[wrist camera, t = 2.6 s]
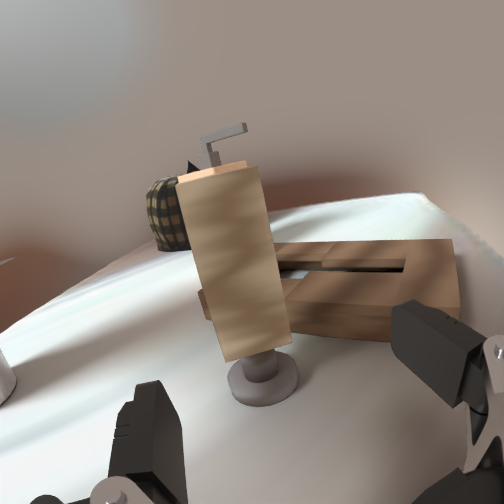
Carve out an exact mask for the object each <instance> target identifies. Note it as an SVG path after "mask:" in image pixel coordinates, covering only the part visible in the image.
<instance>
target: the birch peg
mask: <svg viewBox="0 0 504 504" xmlns="http://www.w3.org/2000/svg"><path fill="white" fill-rule="evenodd" d="M175 187H176V191H177V195H178V199H179V203H180V207H181V211H182V215H183V219H184V223H185V227H186V231H187V234H188V238H189V242H190V246H191V249H192V253H193V256H194V260H195V264H196V267H197V271H198V274H199V278H200V281H201V285H202V288H203V291H204V295H205V298H206V301H207V305H208V308H209V311H210V315H211V318H212V321H213V324H214V327H215V331H216V334H217V337H218V340H219V343H220V346H221V349H222V352H223V355H224V358H225V361H226V362H230V361H233V360H237V359H240V360H239V361H238V362H236V363H235V364H234V365H233V366H232V368H231V369H230V371H229V373H228V383H229V386H230V388H231V391H232V394H233V396H234V398H235V399H236V400H237V401H239V402H240V403H242V404H245V405H248V406H254V407H262V406H269V405H273V404H276V403H278V402H280V401H282V400H284V399H286V398H287V397H288V396H290V395H291V394H292V393H293V391H294V390H295V388H296V387H297V384H298V374H297V368H296V364H295V361H294V360H293V359H292V358H291V357H290V356H289V355H287V354H285V353H282V352H277V351H275V350H274V348H277V347H280V346H283V345H286V344H289V343H292V337H291V332H290V327H289V321H288V316H287V310H286V305H285V300H284V295H283V289H282V284H281V279H280V274H279V269H278V264H277V259H276V254H275V249H274V244H273V239H272V234H271V229H270V224H269V219H268V214H267V209H266V205H265V200H264V195H263V190H262V186H261V181H260V176H259V172H258V167H257V166H252V167H245V168H239V169H235V170H230V171H226V172H222V173H217V174H213V175H209V176H205V177H201V178H197V179H193V180H189V181H185V182H181V183H178V184H176V185H175Z"/></svg>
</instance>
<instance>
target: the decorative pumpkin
mask: <svg viewBox="0 0 504 504" xmlns="http://www.w3.org/2000/svg"><path fill="white" fill-rule="evenodd" d="M197 171H201V170H199V169H198V168H197V167H196V166H194V165H193V164H191V163H190V162H189V161H188V170H187V174H189V173H193V172H197ZM178 176H182V175H174V176H169V177H165V178H163V179H161V180H159V181H157V182H156V183H155V184H154V185H153V186H151V187H150V189H149V190H148V193H147V195H146V207H147V212H148V218H149V223H150V226H151V228H152V231H153V234H154V237H155V239H156V241H157V244H158V250H159V251H164V252H176V251H186V250H192V249H191V246H190V242H189V238H188V234H187V231H186V227H185V223H184V219H183V215H182V211H181V207H180V203H179V199H178V195H177V191H176V187H175V185H176V184H178V183H179V181H178Z"/></svg>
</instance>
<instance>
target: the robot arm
mask: <svg viewBox="0 0 504 504" xmlns="http://www.w3.org/2000/svg"><path fill="white" fill-rule="evenodd" d="M391 347H392V350H393V352H394V354H395V356H396V357H397V358H398V359H399V360H400V361H401V362H402V363H403V364H405V365H406V366H407V367H408V368H409V369H410V370H411V371H412V372H413V373H415V374H416V375H417V376H418V377H419V378H420V379H421V380H422V381H423V382H424V383H426V384H427V385H428V386H429V387H430V388H431V389H432V390H433V391H434V392H435V393H436V394H438V395H439V396H440V397H441V398H442V399H443V400H444V401H445V402H446V403H447V404H448V405H450V406H451V407H452V408H454V407H455V406H457V405H458V404H460V403H461V402H462V401H465V402H466V403H467V404H466V408H465V415H466V429H467V458H466V462H465V465H464V469H463V472H462V471H461V470H460V469H459V468H457V469H455V470H454V471H452V472H451V473H450V474H448V475H447V476H446V477H444V478H443V479H441V480H440V481H438V482H437V483H435V484H434V485H432V486H431V487H429V488H428V489H426V490H425V491H424V492H423V493H422V494H421V495H420V496H419V497H418V498H417V499H416V500H415V501H414V502H413V503H412V504H504V335H495V336H492V337H490V338H488V339H487V338H486V337H484V336H483V335H481V334H479V333H478V332H476V331H475V330H473V329H471V328H470V327H468V326H466V325H465V324H463V323H462V322H458V320H457V319H455V318H453V317H450V315H448V314H447V313H445V312H443V311H442V310H440V309H436V308H432V307H429V306H425V305H423V304H421V303H420V302H418V301H416V300H415V299H409V300H407V301H404V302H402V303H400V304H398V305H395V306H394V307H393V308H392V311H391ZM16 381H17V380H16V376H15V374H14V373H13V371H12V369H11V368H10V366H9V364H8V362H7V360H6V359H5V357H4V355H3V353H2V351H1V349H0V404H1V403H2V402H4V401H5V400H6V399H7V398H8V396H9V395H10V394H11V393H12V391H13V389H14V387H15V385H16ZM114 438H115V439H113V445H112V451H111V458H110V464H109V472H108V478H106V479H104V480H102V481H101V482H99V483H98V484H97V485H96V486H95V487H94V489H93V490H92V492H91V496H90V497H89V498H87V499H83V500H79V501H76V502H72V503H68V504H188V498H187V488H186V477H185V466H184V453H183V438H182V427H181V422H180V419H179V416H178V414H177V412H176V410H175V408H174V406H173V404H172V402H171V400H170V398H169V396H168V394H167V392H166V390H165V388H164V386H163V385H162V383H161V382H160V381H159V380H157V381H152V382H147V383H142V384H137V385H136V388H135V394H134V400H133V401H130V402H126V403H125V404H124V406H123V407H122V409H121V410H120V412H119V413H118V416H117V422H116V429H115V433H114ZM30 504H64V503H63V502H62V501H60V500H59V499H58V498H57V497H55V496H52V495H42V496H39V497H37V498H35V499H34V500H33V501H32V502H31V503H30Z"/></svg>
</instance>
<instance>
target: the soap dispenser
mask: <svg viewBox="0 0 504 504" xmlns="http://www.w3.org/2000/svg"><path fill="white" fill-rule="evenodd" d="M246 132H248V130H247V125H246V123H239V124H236V125H233V126H230V127H227V128H224V129H221V130H218V131H215V132H212V133H209V134H206V135H203V136H200V140H201V145H202V149H203V154H202V155H200V156H198V158H199V162H200V167H201V171H197V172H193V173H189V174H186V175H182V176H178V181H179V183H181V182H185V181H189V180H193V179H197V178H201V177H205V176H209V175H213V174H217V173H222V172H226V171H230V170H235V169H239V168H245V167H247V165H246V161H241V162H236V163H231V164H226V165H223V166H222V165H221V161H220V157H219V152H218V151H215V152H212V148H211V143H212V142H215V141H219V140H222V139H225V138H228V137H232V136H235V135H239V134H242V133H246Z"/></svg>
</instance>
